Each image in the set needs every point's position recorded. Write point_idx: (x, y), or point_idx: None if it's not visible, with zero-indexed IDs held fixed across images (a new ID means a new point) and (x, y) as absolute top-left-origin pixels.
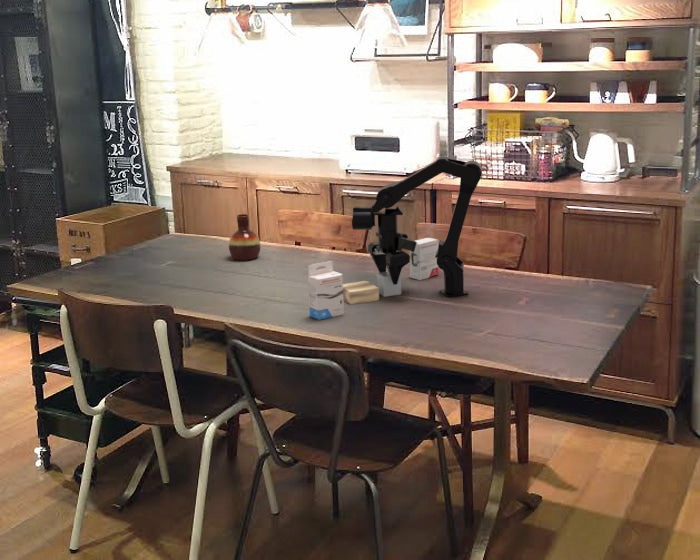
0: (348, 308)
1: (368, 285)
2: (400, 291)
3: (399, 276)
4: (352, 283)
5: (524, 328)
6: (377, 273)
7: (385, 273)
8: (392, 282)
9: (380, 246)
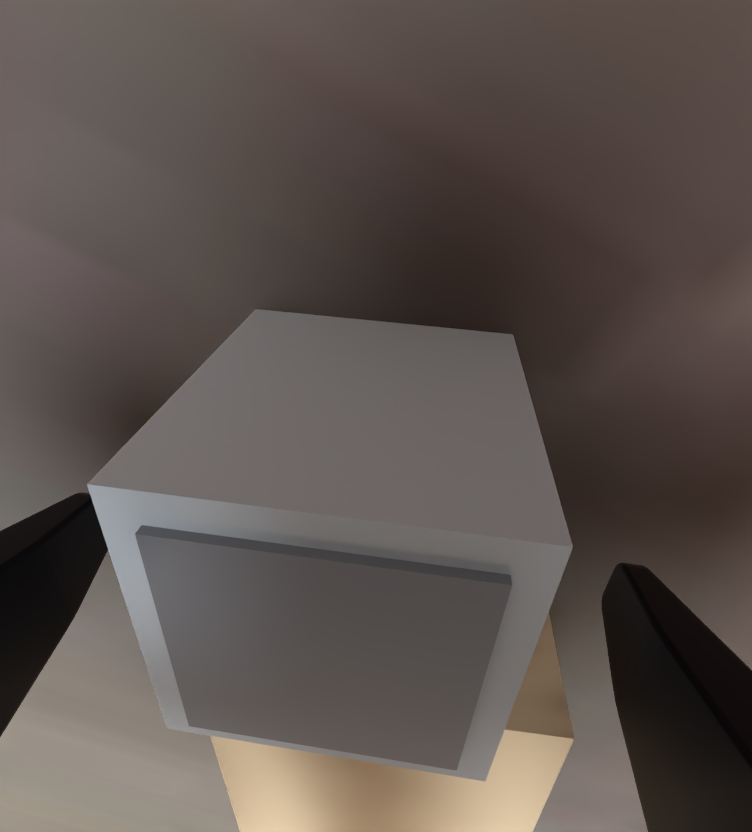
0: (577, 791)
1: None
2: (514, 360)
3: (559, 549)
4: (252, 785)
5: None
6: (205, 734)
7: (290, 696)
8: (612, 646)
9: None
